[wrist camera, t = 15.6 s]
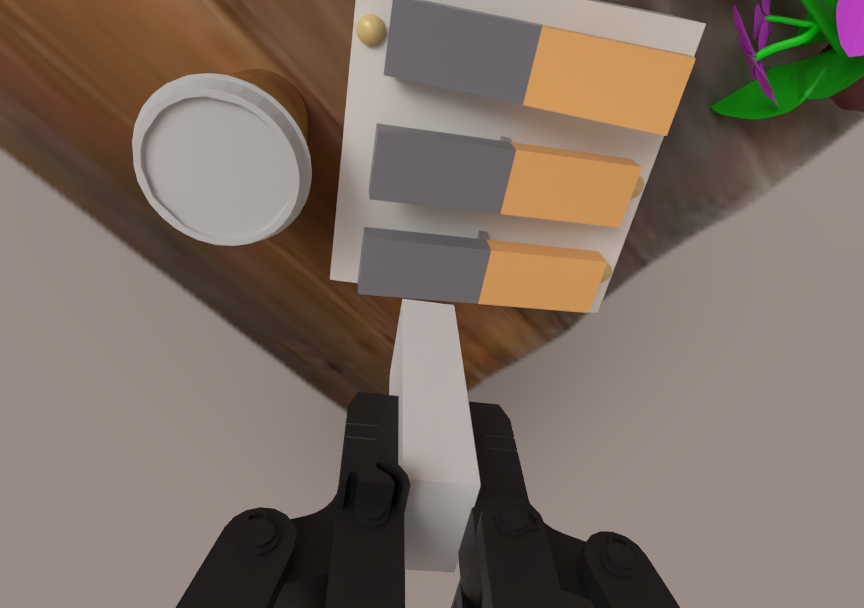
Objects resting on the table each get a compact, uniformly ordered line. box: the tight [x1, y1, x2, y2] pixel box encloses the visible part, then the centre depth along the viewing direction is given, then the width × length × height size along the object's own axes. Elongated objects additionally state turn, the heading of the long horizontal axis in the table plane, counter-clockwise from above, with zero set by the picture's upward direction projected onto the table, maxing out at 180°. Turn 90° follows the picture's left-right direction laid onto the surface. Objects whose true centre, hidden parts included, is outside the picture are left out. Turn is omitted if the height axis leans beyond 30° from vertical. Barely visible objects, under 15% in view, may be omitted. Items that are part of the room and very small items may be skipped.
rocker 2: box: [357, 227, 607, 313], centre depth 39 cm, size 16×4×2 cm, turn 80°
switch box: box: [330, 0, 706, 313], centre depth 39 cm, size 20×20×8 cm
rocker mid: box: [369, 123, 642, 228], centre depth 35 cm, size 16×4×2 cm, turn 80°
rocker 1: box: [384, 0, 696, 136], centre depth 32 cm, size 16×4×2 cm, turn 80°
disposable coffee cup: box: [132, 69, 312, 246], centre depth 36 cm, size 10×10×12 cm
